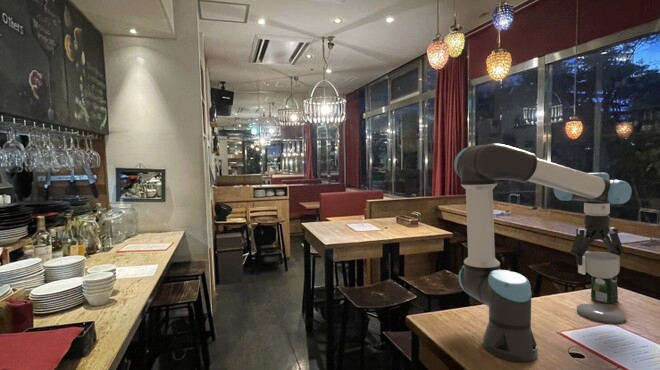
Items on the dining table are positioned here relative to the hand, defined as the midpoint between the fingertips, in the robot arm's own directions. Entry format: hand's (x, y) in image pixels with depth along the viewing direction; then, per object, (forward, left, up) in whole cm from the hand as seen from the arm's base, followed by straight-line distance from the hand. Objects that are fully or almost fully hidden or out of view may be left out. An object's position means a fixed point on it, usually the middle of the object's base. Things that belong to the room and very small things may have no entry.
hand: (597, 272), depth 127 cm
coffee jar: (+16, +16, -17) cm, 28 cm away
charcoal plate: (+3, +2, -17) cm, 17 cm away
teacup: (0, 0, -1) cm, 1 cm away
